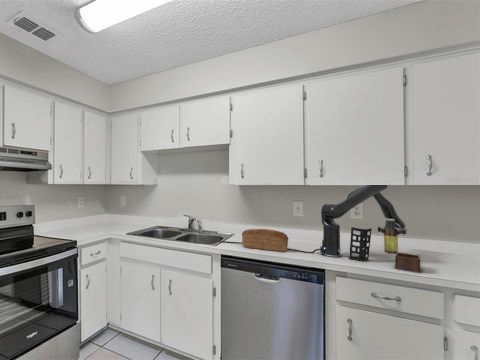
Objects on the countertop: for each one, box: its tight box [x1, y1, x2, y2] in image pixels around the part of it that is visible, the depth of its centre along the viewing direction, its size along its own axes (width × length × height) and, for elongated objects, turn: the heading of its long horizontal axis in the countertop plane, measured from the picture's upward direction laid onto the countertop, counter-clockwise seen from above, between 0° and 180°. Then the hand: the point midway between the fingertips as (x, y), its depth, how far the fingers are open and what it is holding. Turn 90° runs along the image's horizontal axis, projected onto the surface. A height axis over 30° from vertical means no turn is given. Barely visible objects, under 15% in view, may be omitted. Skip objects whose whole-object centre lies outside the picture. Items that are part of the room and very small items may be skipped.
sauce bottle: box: [383, 219, 399, 255], centre depth 159 cm, size 6×6×20 cm
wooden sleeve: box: [394, 251, 421, 274], centre depth 145 cm, size 10×11×7 cm
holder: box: [348, 226, 373, 262], centre depth 160 cm, size 11×8×20 cm
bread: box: [241, 228, 289, 252], centre depth 187 cm, size 12×31×14 cm, turn 61°
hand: (390, 232), depth 157 cm, fingers closed on sauce bottle, 6 cm apart
